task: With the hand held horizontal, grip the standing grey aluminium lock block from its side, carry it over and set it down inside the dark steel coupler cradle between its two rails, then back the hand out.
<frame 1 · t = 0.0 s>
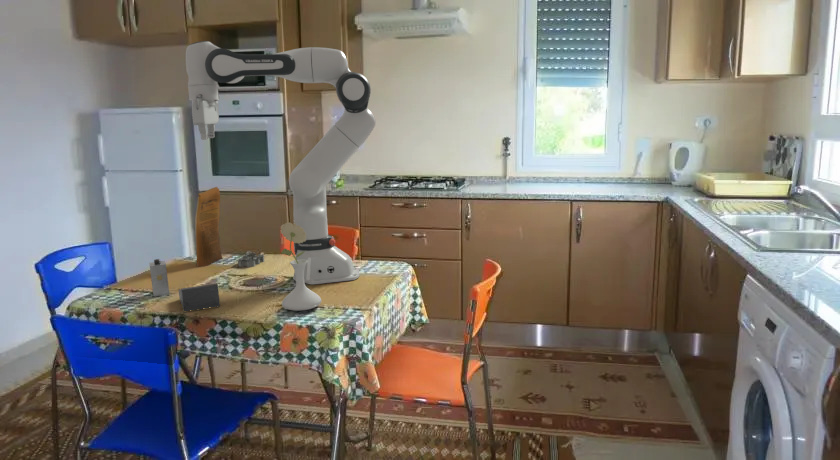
hand: (208, 138, 202), 48 cm above the table, tool pointing down, fingers open, 8 cm apart
grey building model: (251, 264, 237), on the table
coupler cradle: (199, 303, 190), on the table
pancake mix bag: (211, 262, 241), on the table
flower in vase: (300, 307, 183), on the table
lock block: (161, 293, 202), on the table
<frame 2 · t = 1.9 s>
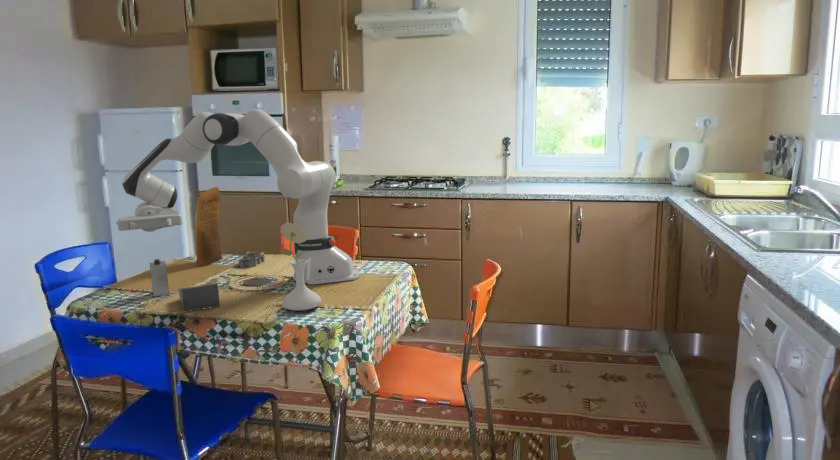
hand: (151, 225, 208), 20 cm above the table, tool horizontal, fingers open, 8 cm apart
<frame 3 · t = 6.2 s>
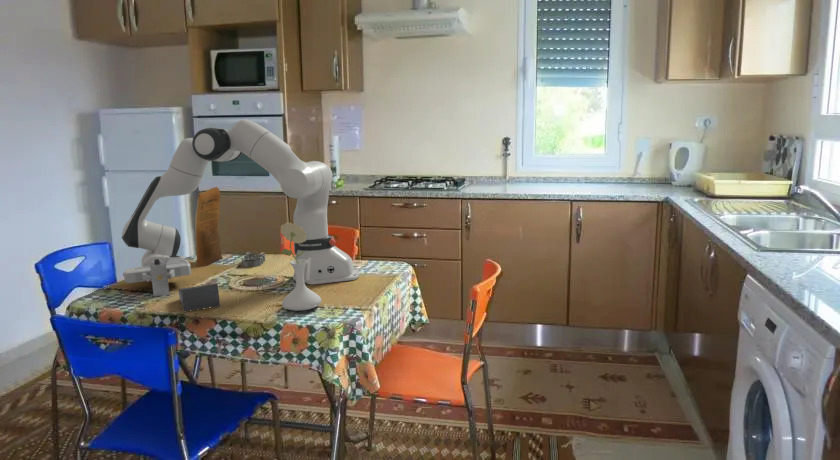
hand: (159, 277, 200), 6 cm above the table, tool horizontal, fingers closed on lock block, 5 cm apart
lock block: (161, 293, 202), on the table, touching gripper
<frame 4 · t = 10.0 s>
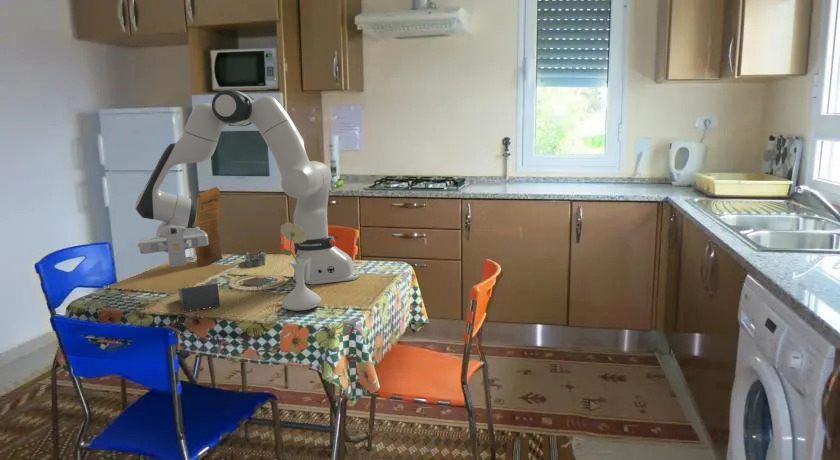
hand: (176, 247, 191), 17 cm above the table, tool horizontal, fingers closed on lock block, 5 cm apart
lock block: (177, 264, 193), point 11 cm above the table, touching gripper
when the fingers open (8 cm above the table, at t = 13.4 s): lock block drops 1 cm, resting on coupler cradle.
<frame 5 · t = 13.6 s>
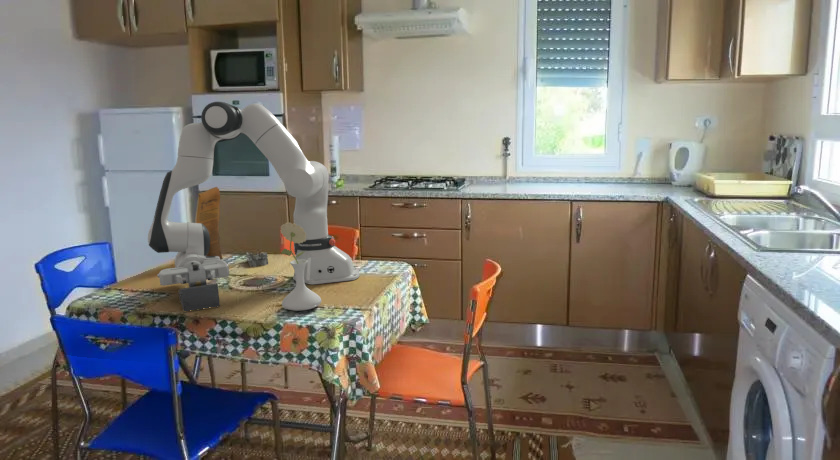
hand: (197, 279, 187), 8 cm above the table, tool horizontal, fingers open, 6 cm apart
lock block: (199, 301, 190), point 1 cm above the table, touching coupler cradle
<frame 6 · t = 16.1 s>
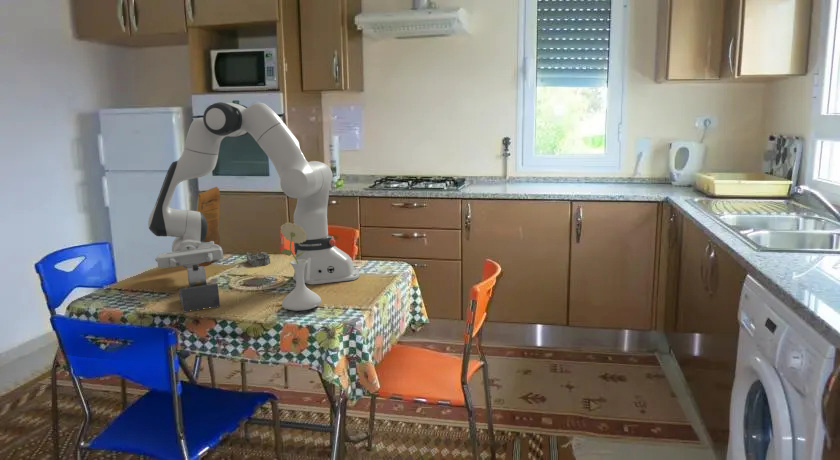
hand: (192, 261, 199), 10 cm above the table, tool horizontal, fingers open, 8 cm apart
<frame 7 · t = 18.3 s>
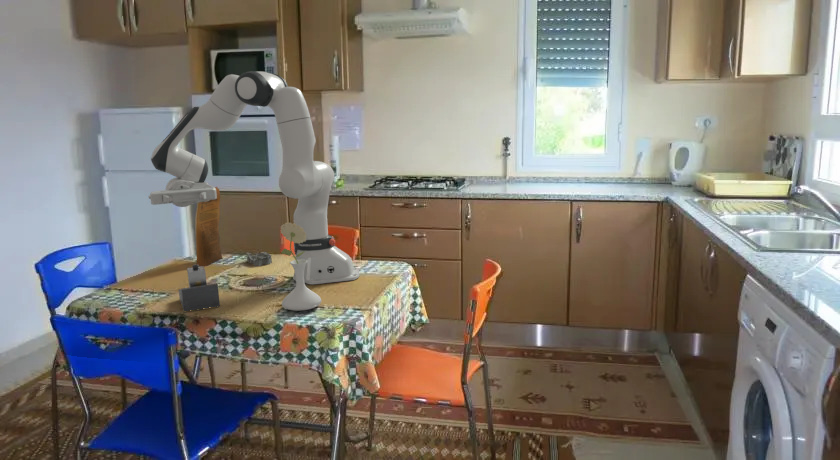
hand: (186, 198, 199), 30 cm above the table, tool horizontal, fingers open, 8 cm apart
at the end: lock block 0.5 cm from the coupler cradle (horizontally); lock block tilted 0°; the gripper is holding nothing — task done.
